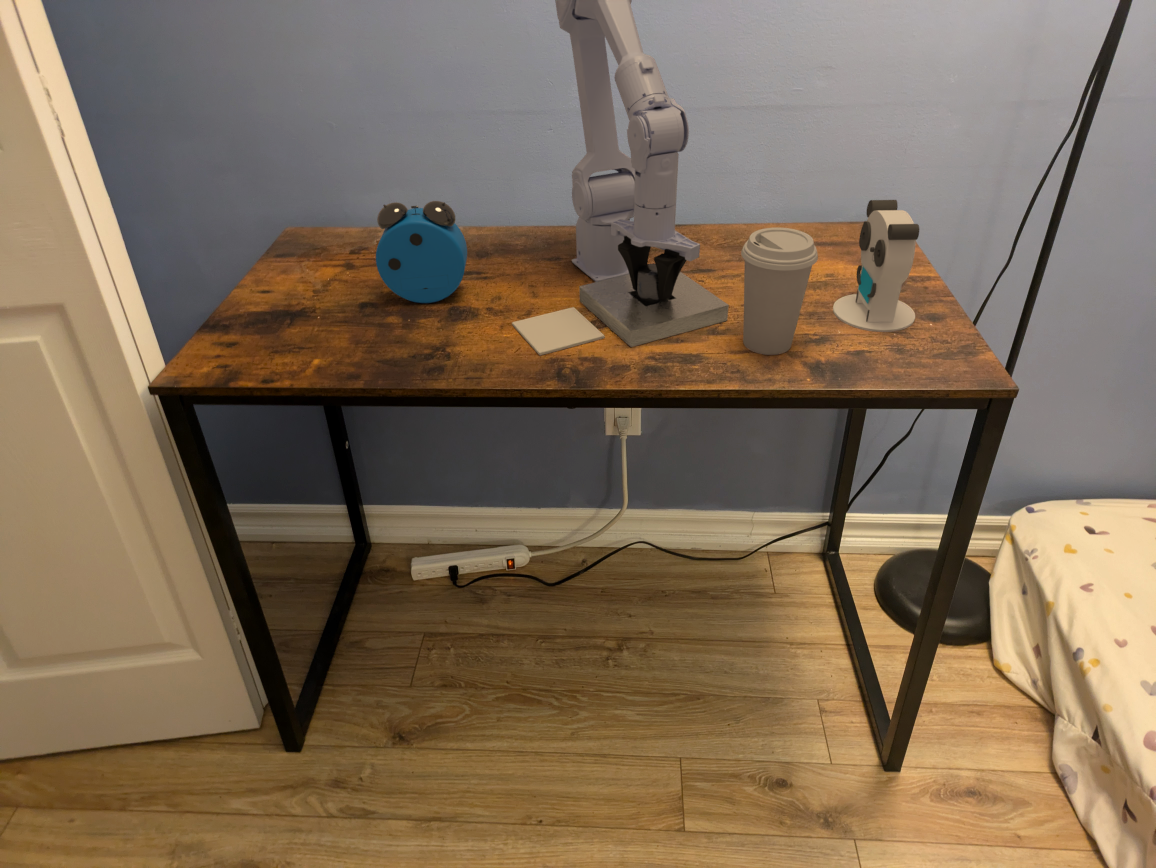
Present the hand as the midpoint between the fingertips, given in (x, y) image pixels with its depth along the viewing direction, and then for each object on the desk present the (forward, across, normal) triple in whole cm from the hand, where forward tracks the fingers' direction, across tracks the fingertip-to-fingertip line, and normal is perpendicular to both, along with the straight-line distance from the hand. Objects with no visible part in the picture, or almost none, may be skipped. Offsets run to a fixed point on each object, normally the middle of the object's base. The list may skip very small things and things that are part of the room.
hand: (652, 292), depth 112 cm
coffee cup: (+3, +18, +3) cm, 19 cm away
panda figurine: (+3, +25, +21) cm, 32 cm away
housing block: (+3, 0, 0) cm, 3 cm away
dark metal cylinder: (+3, 0, 0) cm, 3 cm away
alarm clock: (+3, -29, -19) cm, 35 cm away
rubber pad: (+3, -6, -14) cm, 15 cm away
